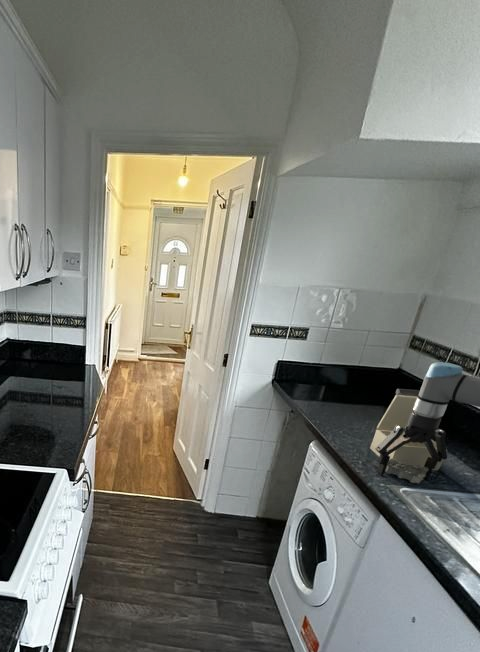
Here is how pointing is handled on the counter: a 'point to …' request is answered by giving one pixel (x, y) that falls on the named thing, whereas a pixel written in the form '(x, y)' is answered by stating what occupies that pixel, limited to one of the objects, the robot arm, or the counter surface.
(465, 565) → the counter surface
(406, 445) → the beige open box
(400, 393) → the box lid
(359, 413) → the counter surface
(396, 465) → the egg carton
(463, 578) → the counter surface
